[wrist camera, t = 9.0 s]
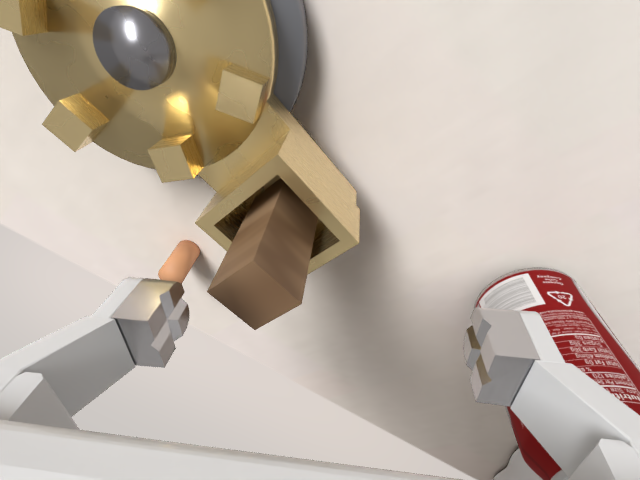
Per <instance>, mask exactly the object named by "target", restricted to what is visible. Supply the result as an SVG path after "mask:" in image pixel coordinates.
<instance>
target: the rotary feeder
mask: <svg viewBox="0 0 640 480" xmlns="http://www.w3.org/2000/svg"><path fill="white" fill-rule="evenodd" d="M0 27H1V28H3V29H6V30H9V31H11V32H12V34H13V36H14V39H15V41H16V44H17V46H18V48H19V51H20V53H21V55H22V57H23V59H24V61H25V63H26V65H27V67H28V69H29V71H30V72H31V74H32V76H33V77H34V79H35V80H36V82H37V84H38V85H39V87H40V88H41V90H42V91H43V92H44V94H45V95H46V96H47V98H48V99H49V100H50V101H51V103H52V104H53V105H54V108H53V109H52V111H51V112H50V114H49V115H48V116H47V118H46V119H45V121H44V122H43V124H42V125H43V126H44V127H46V128H47V129H48V130H49V131H50V132H52V133H53V134H54V135H55V136H56V137H58V138H59V139H60V140H61V141H62V142H63V143H65V144H66V145H67V146H68V147H69V148H71V149H72V150H73V151H74V152H76V151H77V150H79V149H81V148H83V147H84V146H86V145H88V144H90V143H91V142H94V143H96V144H97V145H99V146H100V147H102V148H103V149H105V150H106V151H108V152H110V153H112V154H114V155H116V156H118V157H120V158H122V159H124V160H127V161H129V162H132V163H134V164H137V165H141V166H144V167H147V168H152V169H156V170H157V173H158V175H159V177H160V179H161V181H162V183H164V182H171V181H179V180H186V179H194V177H195V176H196V175H197V174H198V175H199V176H200V177H201V178H203V179H204V180H205V181H206V182H207V183H208V184H209V185H210V186H211V187H212V188H213V189H214V190H215V191H216V194H215V195H214V197H213V198H212V200H211V201H210V202H209V204H208V205H207V207H206V208H205V209H204V211H203V212H202V214H201V215H200V217H199V218H198V219H197V221H196V222H195V224H196V225H198V226H199V227H200V228H201V229H202V230H203V231H204V232H206V233H207V234H208V235H209V236H210V237H211V238H212V239H214V240H215V241H216V242H217V243H218V244H219V245H220V246H222V247H223V248H224V249H225V250H226V251H228V249H229V247H230V245H231V243H232V242H233V240H234V238H235V236H236V234H237V232H238V230H239V228H240V226H241V224H242V222H243V220H244V218H245V216H246V214H247V212H248V210H249V208H250V206H251V204H252V202H253V200H254V198H256V197H257V196H258V195H259V194H261V193H262V192H263V191H264V190H266V189H267V188H268V187H270V186H271V185H272V184H273V183H275V182H276V181H277V180H279V179H280V178H281V179H282V180H283V181H284V182H285V183H286V184H287V185H288V186H289V187H290V188H291V189H292V190H293V191H294V193H295V194H296V195H297V196H298V197H299V198H300V199H301V200H302V201H303V202H304V203H305V204H306V205H307V206H308V207H309V208H310V210H311V211H312V212H313V213H314V214H315V215H316V216H317V217H318V220H317V226H316V231H315V236H314V241H313V246H312V252H311V257H310V262H309V267H308V273H307V275H308V274H309V273H311V272H312V271H314V270H316V269H317V268H319V267H321V266H322V265H324V264H326V263H327V262H329V261H331V260H332V259H334V258H336V257H337V256H339V255H341V254H342V253H344V252H346V251H347V250H349V249H351V248H352V247H354V246H356V245H357V244H359V225H360V209H359V208H358V207H357V206H356V192H357V191H356V190H355V189H354V188H353V187H352V185H351V184H350V183H349V182H348V181H347V180H346V178H345V177H344V176H343V175H342V174H341V173H340V171H339V170H338V169H337V168H336V167H335V165H334V164H333V163H332V162H331V161H330V160H329V158H328V157H327V156H326V155H325V154H324V152H323V151H322V150H321V149H320V148H319V147H318V145H317V144H316V143H315V142H314V141H313V139H312V138H311V137H310V136H309V135H308V134H307V132H306V131H305V130H304V129H303V128H302V126H301V125H300V124H299V123H298V122H297V121H296V119H295V118H294V117H293V116H292V115H291V113H290V112H289V111H288V110H287V109H286V108H285V106H284V105H283V104H282V103H281V102H280V101H279V99H278V98H277V97H276V96H275V95H274V93H273V92H274V89H275V84H276V79H277V74H278V61H279V48H278V34H277V28H276V21H275V17H274V13H273V9H272V5H271V2H270V0H0Z"/></svg>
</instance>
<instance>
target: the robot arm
mask: <svg viewBox="0 0 640 480" xmlns="http://www.w3.org/2000/svg"><path fill="white" fill-rule="evenodd" d="M183 294H184V289H183V286H182V284H181V283H179V282H175V281H166V280H157V279H148V278H145V279H144V278H136V277H128V278H125V279H124V280H123V281H122V282H121V283H120V284H119V285H118V286H117V288H116V289H115V290H114V291H113V292H112V293H111V294H110V296H109V297H108V298H107V299H106V300H105V301H104V302H103V303H102V305H101V306H100V307H99V308H98V309H97V310H96V311H95V312H94V314H93V315H92V316H85V317H83V318H81V319H79V320H77V321H75V322H73V323H71V324H69V325H67V326H65V327H63V328H61V329H59V330H57V331H55V332H53V333H51V334H49V335H47V336H45V337H43V338H41V339H39V340H37V341H35V342H33V343H31V344H29V345H27V346H25V347H23V348H21V349H19V350H17V351H15V352H13V353H11V354H9V355H7V356H5V357H3V358H1V359H0V480H461V479H453V478H445V477H438V476H430V475H423V474H415V473H407V472H399V471H392V470H384V469H377V468H369V467H361V466H354V465H346V464H338V463H330V462H323V461H314V460H308V459H299V458H292V457H284V456H276V455H269V454H261V453H253V452H246V451H238V450H230V449H222V448H214V447H207V446H199V445H192V444H184V443H176V442H169V441H161V440H153V439H146V438H138V437H130V436H122V435H115V434H108V433H100V432H92V431H84V430H80V429H79V428H78V427H77V425H76V424H75V422H74V421H73V419H72V418H71V417H72V416H73V415H75V414H76V413H77V412H78V411H80V410H81V409H82V408H83V407H85V406H86V405H87V404H89V403H90V402H91V401H92V400H94V399H95V398H96V397H98V396H99V395H100V394H101V393H103V392H104V391H105V390H107V389H108V388H109V387H110V386H111V385H113V384H114V383H115V382H117V381H118V380H119V379H121V378H122V377H123V376H124V375H126V374H127V373H128V372H129V371H131V370H132V369H133V368H135V365H140V366H152V367H165V366H166V364H167V363H168V361H169V359H170V357H171V355H172V353H173V352H174V350H175V349H176V348H175V344H174V341H175V340H177V339H178V338H180V337H181V336H183V334H184V332H185V330H186V328H187V325H188V321H189V308H188V304H187V303H186V302H185V301H184V300H183V299H182V298H181V297H182V295H183ZM471 321H472V326H471V327H470V328H468V329H467V330H466V333H465V337H464V347H463V349H464V357H465V362H466V365H467V366H468V367H469V368H470V369H471V370H472V371H473V372H472V374H471V377H470V382H471V385H472V389H473V393H474V397H475V401H476V402H480V403H488V404H495V405H502V406H510V407H511V410H512V411H513V412H514V413H515V414H516V416H517V417H518V418H519V419H520V420H521V421H522V423H523V424H524V425H525V426H526V427H527V429H528V430H529V431H530V432H531V433H532V434H533V436H534V437H535V438H536V439H537V440H538V442H539V443H540V444H541V445H542V446H543V447H544V449H545V450H546V451H547V452H548V453H549V455H550V456H551V457H552V458H553V459H554V461H555V462H556V463H557V464H558V465H559V466H560V468H561V469H562V470H563V471H564V472H565V474H566V475H567V476H568V477H569V479H568V480H640V415H638V414H637V413H636V412H634V411H633V410H632V409H630V408H629V407H628V406H627V405H625V404H624V403H623V402H621V401H620V400H619V399H617V398H616V397H615V396H613V395H612V394H611V393H610V392H608V391H607V390H606V389H604V388H603V387H602V386H600V385H599V384H598V383H597V382H595V381H594V380H593V379H591V378H590V377H589V376H587V375H586V374H585V373H583V372H582V371H581V370H580V369H578V368H577V367H576V366H574V365H573V364H570V363H565V361H564V359H563V357H562V355H561V354H560V352H559V350H558V348H557V346H556V344H555V342H554V340H553V339H552V337H551V335H550V333H549V331H548V329H547V327H546V325H545V323H544V322H543V320H542V318H541V316H540V314H538V313H537V312H534V311H520V310H515V311H514V310H504V309H491V308H478V307H476V308H475V309H474V310H473V312H472V315H471ZM494 480H543V479H542V478H540V477H539V476H538V475H537V474H536V473H535V472H534V471H533V470H532V469H531V468H530V467H529V466H528V465H527V464H526V462H525V461H524V459H523V457H522V454H521V452H520V449H519V448H518V449H517V450H516V451H515V452H514V453H513V455H512V456H511V458H510V461H509V463H508V466H507V467H506V468H505V469H504V470H502V471H501V472H500V473H498V474H497V475H496V476H495V477H494Z"/></svg>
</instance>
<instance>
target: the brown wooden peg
mask: <svg viewBox="0 0 640 480" xmlns="http://www.w3.org/2000/svg"><path fill="white" fill-rule="evenodd" d="M317 220H318V217H317V216H316V215H315V214H314V213H313V212H312V211H311V210H310V208H309V207H308V206H307V205H306V204H305V203H304V202H303V201H302V200H301V199H300V198H299V197H298V196H297V195H296V194H295V193H294V191H293V190H292V189H291V188H290V187H289V186H288V185H287V184H286V183H285V182H284V181H283V180H282V179H281V178H280V179H279V180H277V181H276V182H275V183H273V184H272V185H271V186H270V187H268V188H267V189H266V190H264V191H263V192H262V193H261V194H259V195H258V196H257V197H256V198H254V200H253V202H252V204H251V206H250V208H249V210H248V212H247V214H246V216H245V218H244V220H243V222H242V224H241V226H240V228H239V230H238V232H237V234H236V236H235V238H234V240H233V242H232V243H231V245H230V247H229V249H228V251H227V253H226V255H225V257H224V259H223V261H222V263H221V265H220V267H219V269H218V271H217V273H216V275H215V277H214V279H213V281H212V283H211V285H210V287H209V289H208V291H207V292H208V293H209V294H210V295H212V296H213V297H214V298H215V299H217V300H218V301H219V302H220V303H222V304H223V305H224V306H225V307H227V308H228V309H229V310H230V311H232V312H233V313H234V314H235V315H237V316H238V317H239V318H240V319H242V320H243V321H244V322H245V323H247V324H248V325H249V326H250V327H252V328H253V329H254V330H256V329H258V328H259V327H261V326H263V325H265V324H267V323H268V322H270V321H272V320H274V319H276V318H277V317H279V316H281V315H283V314H285V313H286V312H288V311H290V310H292V309H293V308H295V307H297V306H299V305H301V304H302V299H303V293H304V288H305V283H306V278H307V273H308V267H309V262H310V257H311V252H312V246H313V241H314V236H315V231H316V226H317Z"/></svg>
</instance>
